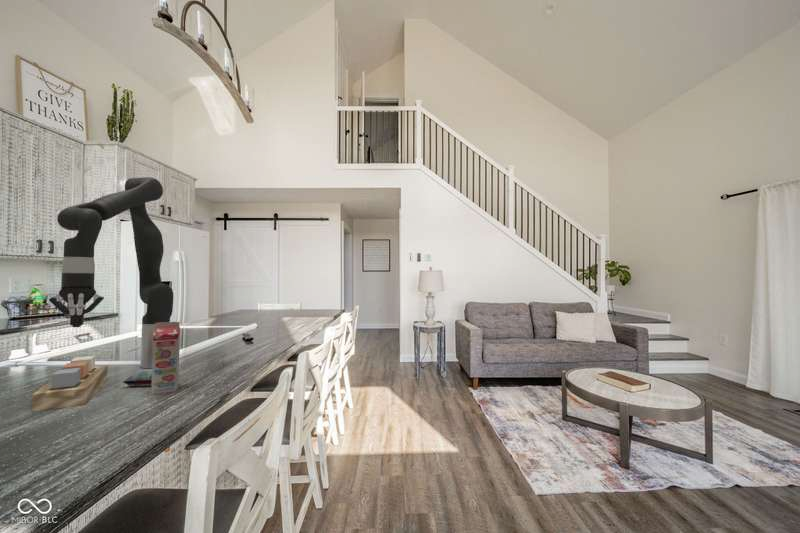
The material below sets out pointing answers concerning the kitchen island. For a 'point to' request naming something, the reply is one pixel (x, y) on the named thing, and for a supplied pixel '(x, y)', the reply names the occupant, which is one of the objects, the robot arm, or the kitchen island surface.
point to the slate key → (66, 378)
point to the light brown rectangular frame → (70, 392)
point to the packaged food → (140, 378)
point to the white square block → (86, 359)
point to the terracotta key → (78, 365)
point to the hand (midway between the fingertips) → (76, 326)
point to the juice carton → (165, 357)
